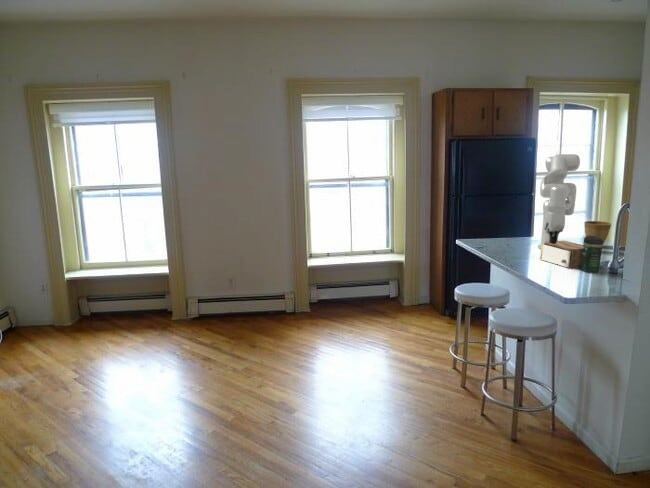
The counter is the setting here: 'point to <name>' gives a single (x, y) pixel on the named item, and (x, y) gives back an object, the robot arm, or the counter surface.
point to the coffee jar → (591, 254)
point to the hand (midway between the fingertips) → (552, 243)
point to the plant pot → (597, 229)
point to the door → (555, 255)
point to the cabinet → (575, 251)
